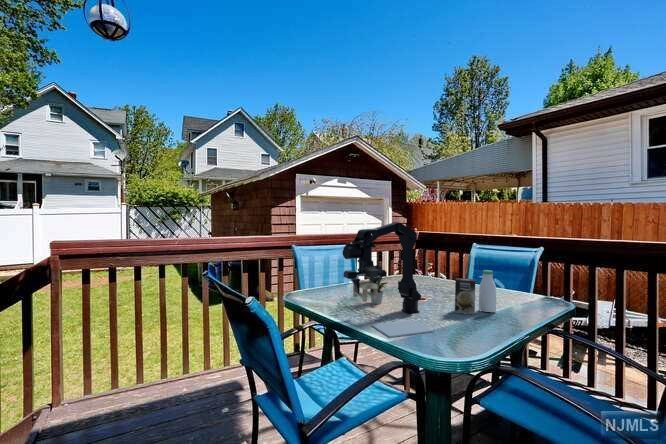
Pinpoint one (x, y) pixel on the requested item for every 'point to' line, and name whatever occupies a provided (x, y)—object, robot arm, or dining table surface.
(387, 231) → the robot arm
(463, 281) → the coffee box
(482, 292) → the milk bottle
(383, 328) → the mat
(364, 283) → the stool
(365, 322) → the dining table surface
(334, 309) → the dining table surface
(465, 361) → the dining table surface
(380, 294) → the house plant
